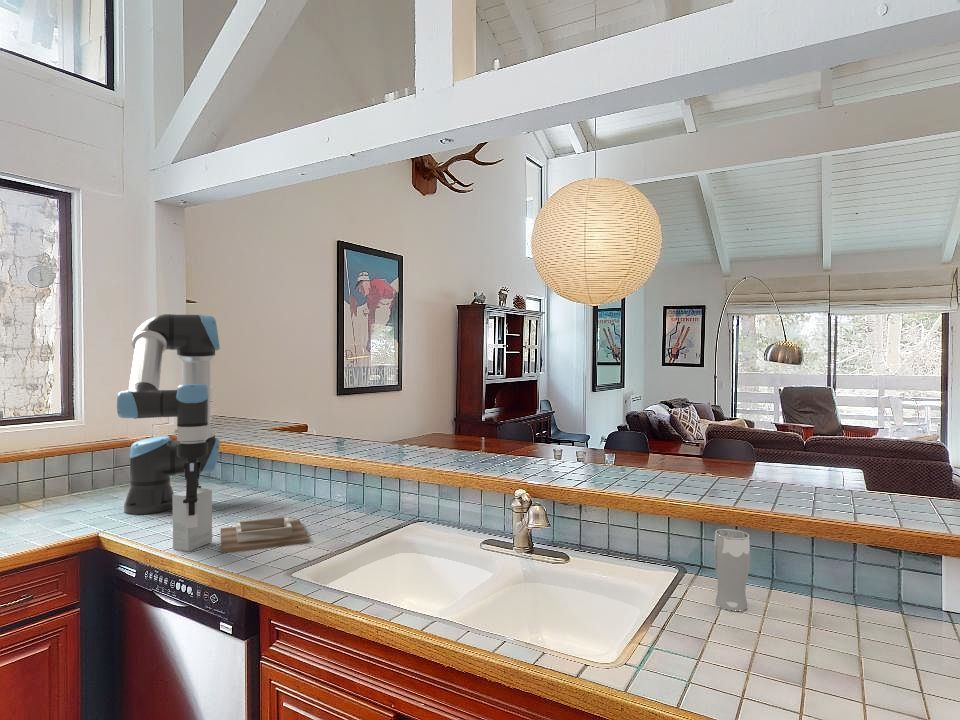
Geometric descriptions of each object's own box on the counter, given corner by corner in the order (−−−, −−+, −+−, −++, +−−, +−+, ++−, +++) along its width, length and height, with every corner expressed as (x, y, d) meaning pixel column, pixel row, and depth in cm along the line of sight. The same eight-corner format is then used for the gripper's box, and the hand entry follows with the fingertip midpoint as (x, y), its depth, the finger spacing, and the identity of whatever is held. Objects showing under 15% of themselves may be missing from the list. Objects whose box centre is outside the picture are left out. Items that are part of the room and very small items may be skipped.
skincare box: (196, 540, 164) (196, 486, 164) (213, 542, 162) (213, 488, 161) (171, 549, 156) (171, 493, 156) (188, 552, 154) (188, 495, 154)
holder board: (220, 531, 172) (220, 519, 172) (299, 523, 181) (299, 511, 181) (221, 552, 153) (221, 539, 153) (308, 542, 163) (308, 529, 162)
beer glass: (707, 599, 126) (708, 528, 126) (738, 598, 126) (739, 528, 126) (723, 613, 119) (724, 539, 119) (756, 612, 119) (757, 538, 119)
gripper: (179, 436, 168) (179, 511, 168) (173, 448, 146) (174, 535, 146) (208, 435, 171) (208, 508, 171) (207, 446, 149) (207, 531, 149)
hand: (192, 520), depth 159 cm, fingers open, 13 cm apart
